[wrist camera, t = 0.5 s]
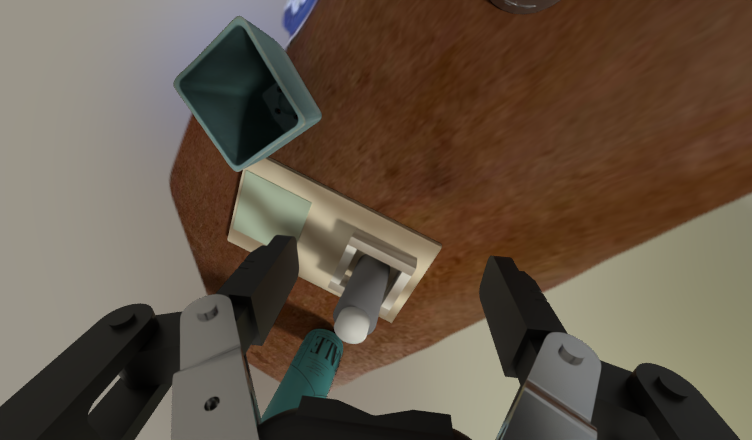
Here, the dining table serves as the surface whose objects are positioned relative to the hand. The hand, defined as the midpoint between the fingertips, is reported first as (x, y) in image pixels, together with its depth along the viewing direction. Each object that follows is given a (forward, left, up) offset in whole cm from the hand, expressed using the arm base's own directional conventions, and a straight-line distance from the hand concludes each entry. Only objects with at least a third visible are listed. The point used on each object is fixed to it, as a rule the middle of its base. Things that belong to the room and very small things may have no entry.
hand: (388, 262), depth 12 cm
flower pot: (0, -16, -21) cm, 26 cm away
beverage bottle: (+30, 0, -21) cm, 37 cm away
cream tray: (+14, -6, -21) cm, 26 cm away
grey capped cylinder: (+14, +1, -20) cm, 25 cm away
